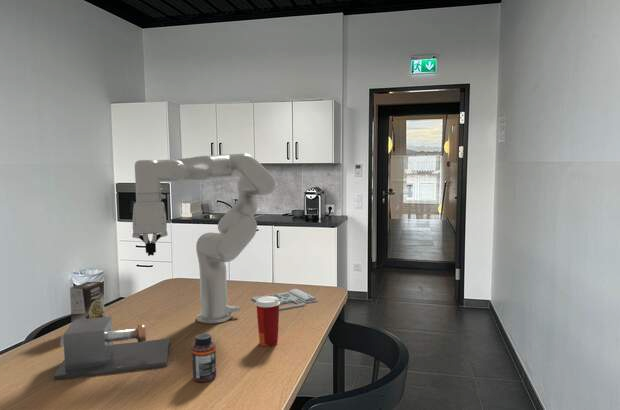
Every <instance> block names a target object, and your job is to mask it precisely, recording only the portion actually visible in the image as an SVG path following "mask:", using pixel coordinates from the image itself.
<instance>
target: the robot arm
mask: <svg viewBox="0 0 620 410" xmlns="http://www.w3.org/2000/svg"><path fill="white" fill-rule="evenodd" d="M236 177H239V179H238V183H237V188H238V196H237V198H238V199H237V201H236V202H235V203H234V205H232V207H231V208H230V209H229V210H228V211H227V212H226V213H225V214H224V215H223V216H222V217H221V218H220V220H219V221H218V223H217V231H218V232H206V233H203V234H201V235H200V236H199V237H198V239H197V241H196V246H195V247H196V249H195V250H196V256H197V259H198V266H199V267H198V268H199V293H200V294H199V295H200V297H199V299H200V313H198V314H197V315H196V321H197V322H199V323H201V324H210V325H211V324H219V323H225V322H227V321H228V320H230V319H232V317H233V313H239V312H241V306H240V305H239V306H237V305H229V303H228V285H227V267H226V263H229V262H232V261H234V260H235V259H236V258H238V256H239V255H240V254H241V253H242V252H243V250H244V249H245V248H246V247H247V245H249V243H250V242H252V240H253V239H254V237H255V235H256V233H257V230H258V229H257V228H258V223H257V220H256V219H255V217H254V216H255V214H256V213H257V211H258V198H257V196H268V195H270V194H272V193H273V192H274V190H275V188H276V181H275V178H274V177H273V175H272V174H271V173H270V171H268V170H267V169H266V168H265V167H264V166H263V164H261V163H260V162H259V161H258V160H257V159H256V158H255V157H254V156H252V155H251V154H249V153H232V154H230V153H229V154H214V155H202V156H201V155H200V156H199V155H198V156H193V157H186V158H175V159H173V158H172V159H171V158H170V159H158V160H155V159H139V160H137V161H135V162H134V179H135V202H133V211H132V236H131V237H132V238H134V239H140V240H141V241H142V242H143V244H145V253H146V254H147V257H148V256H149V257H150V256H153V257H154V254H155V253H156V252H157V247H156V245H157V244H156V242H157V241H158V240H160V238H164V237H167V236H168V235H169V234H168V231H167V228H168V227H167V213H166V212H167V211H166V206H165V203H164V201H162V200H164V199H166V197H167V195H166V194H163V193H162V192H161V191H162V190H161V188H162V187H161V186H162V185H161V183H177V182H180V181H183V180H186V181H187V180H195V181H205V180H206V181H209V180H215V179H216V180H217V179H224V178H225V179H227V178H236ZM151 234H152V238H151V239H152V240H151V242H150V240H149V239H150V238H149V235H151Z"/></svg>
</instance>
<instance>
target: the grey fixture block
mask: <svg viewBox="0 0 620 410" xmlns="http://www.w3.org/2000/svg"><path fill="white" fill-rule="evenodd" d="M112 317H113V316H105V317H100V318H89V319H78V320H74V321H73V322H71V324H70V325H69V327H67V329H66V330H65V332H64V333H63V335H62V336H63V340H64V347H63V356H64V360H63V361H62V363H61V364H60V366H59V367H58V369H57V370H56V372H55V373H54V375H53V381H59V380H60V381H61V380H68V379H77V378H85V377H92V376H101V375H109V374H115V373H116V374H117V373H123V372H124V373H125V372H133V371H140V370H149V369H150V370H151V369H155V368H156V369H157V368H165V367H167V366H168V360H169V359H168V357H169V350H170V349H169V348H170V338H161V339H151V340H146V342H138V341H135V342H126V343H125V342H124V343H117V344H114V342H108V339H107V332H108V331H113V320H112Z"/></svg>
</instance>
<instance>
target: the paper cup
mask: <svg viewBox="0 0 620 410" xmlns="http://www.w3.org/2000/svg"><path fill="white" fill-rule="evenodd" d="M279 304H280V301H279V299H278V298H277V297H273V296H266V297H261V298H258V299H257V301H256V302H255V303H254V305H255V306H256V316H257V329H258V338H259V339H258V340H259V345H260V346H262V347H273V346H276V345H278V340H279V317H280V311H279V308H280V305H281V304H280V305H279Z"/></svg>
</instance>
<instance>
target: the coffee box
mask: <svg viewBox="0 0 620 410" xmlns="http://www.w3.org/2000/svg"><path fill="white" fill-rule="evenodd" d="M69 296H70V299H69V300H70V316H71V323H72V322H73V321H74V320H78V319H89V318H100V317H106V315H105V314H106V312H105V310H106V309H105V292H104V281H86V282H83V283H80V284H77V285H74V286H70V287H69Z"/></svg>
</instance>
